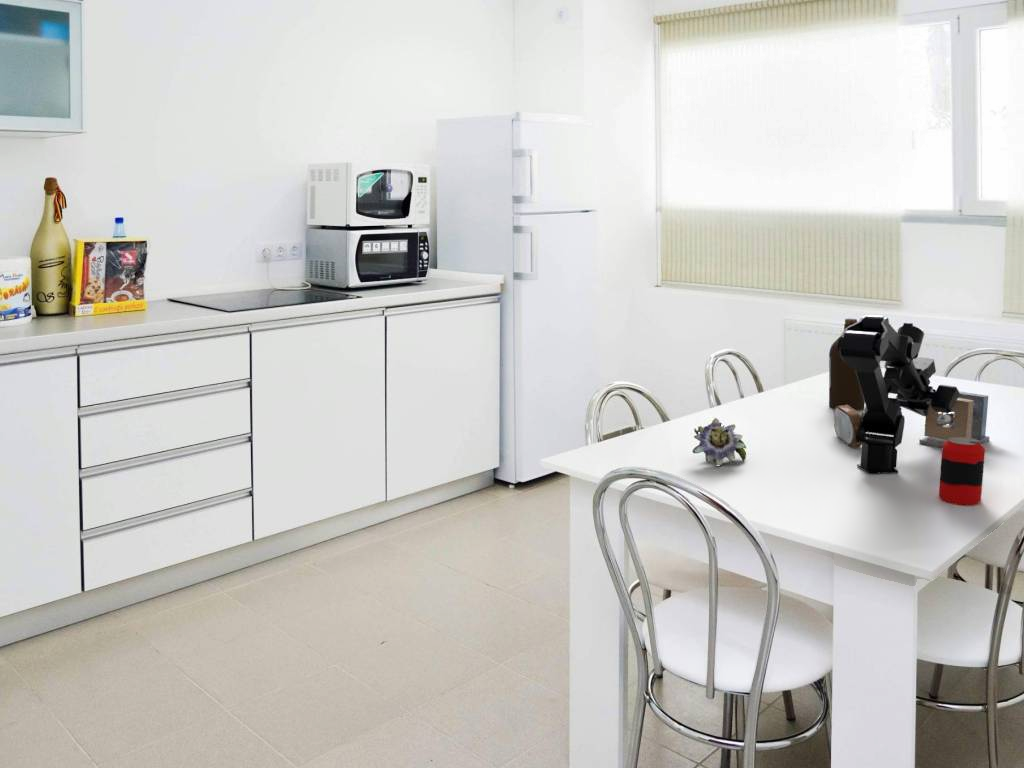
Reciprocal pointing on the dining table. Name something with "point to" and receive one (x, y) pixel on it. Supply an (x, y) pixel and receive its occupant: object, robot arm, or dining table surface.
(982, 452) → the soda can
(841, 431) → the tin
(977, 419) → the stand
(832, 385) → the olive oil
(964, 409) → the wooden block on rod
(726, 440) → the passion flower
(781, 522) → the dining table surface
